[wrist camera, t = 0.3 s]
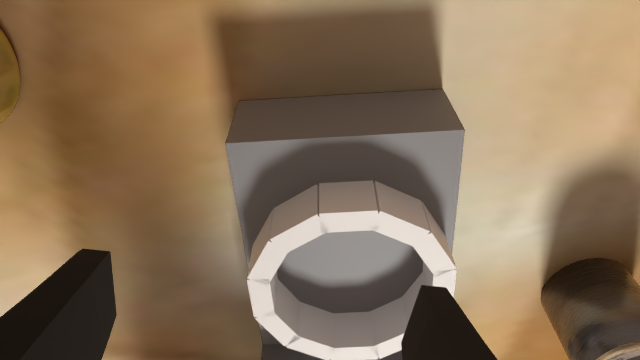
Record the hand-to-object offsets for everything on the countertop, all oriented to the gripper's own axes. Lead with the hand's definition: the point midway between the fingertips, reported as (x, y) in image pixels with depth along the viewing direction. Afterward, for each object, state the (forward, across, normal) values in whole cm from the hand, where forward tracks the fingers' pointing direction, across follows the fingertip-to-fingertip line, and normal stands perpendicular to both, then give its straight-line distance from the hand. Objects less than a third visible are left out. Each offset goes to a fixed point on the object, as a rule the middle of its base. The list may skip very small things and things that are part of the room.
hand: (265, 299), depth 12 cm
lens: (+10, -16, +8) cm, 20 cm away
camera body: (+10, -3, +5) cm, 12 cm away
